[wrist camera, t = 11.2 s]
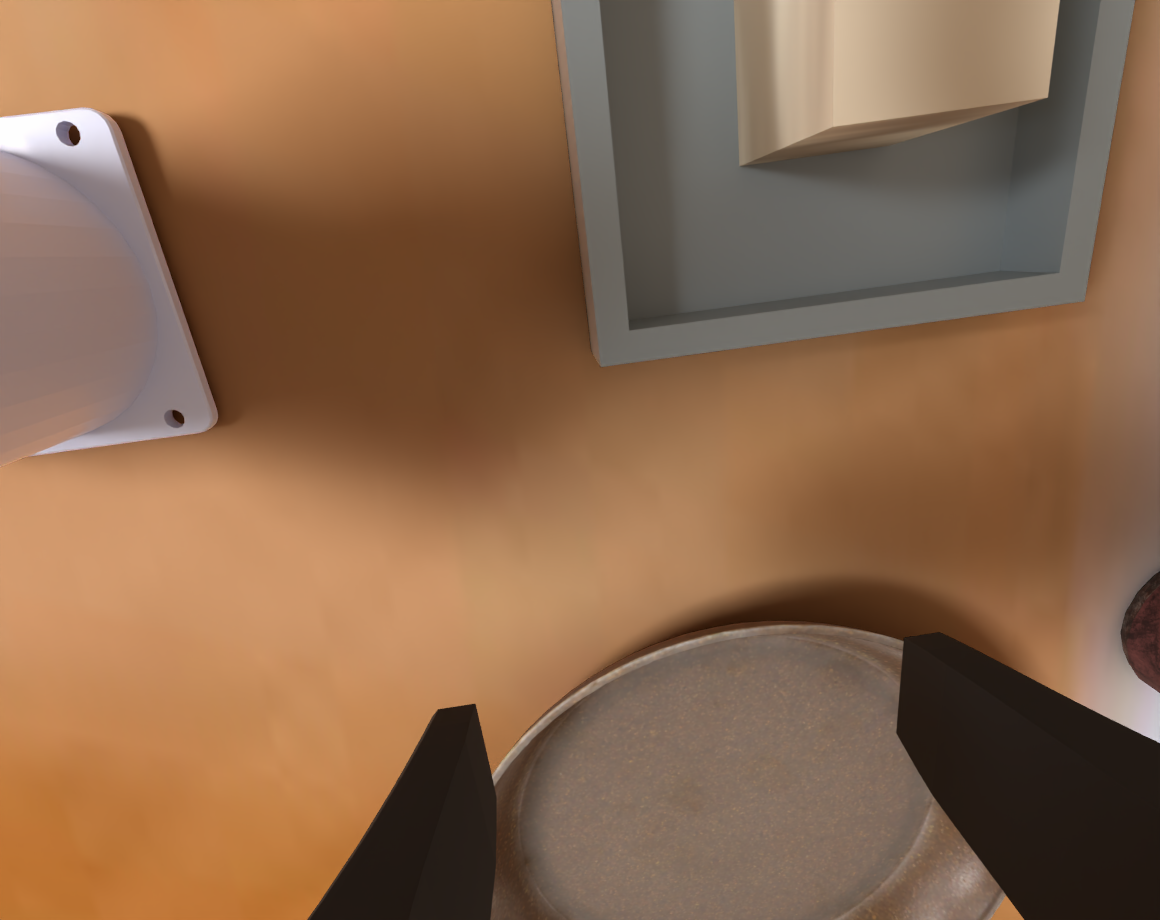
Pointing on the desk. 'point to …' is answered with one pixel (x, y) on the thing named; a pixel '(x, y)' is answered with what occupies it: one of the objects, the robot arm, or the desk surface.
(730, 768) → the plant saucer
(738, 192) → the tray
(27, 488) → the desk surface
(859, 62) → the block
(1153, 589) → the can
